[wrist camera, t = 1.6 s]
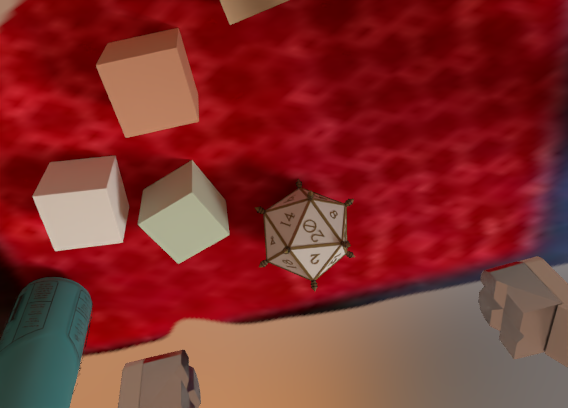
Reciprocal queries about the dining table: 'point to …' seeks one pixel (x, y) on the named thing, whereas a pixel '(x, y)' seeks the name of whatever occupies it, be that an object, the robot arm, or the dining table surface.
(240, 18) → the block oak
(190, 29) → the dining table surface
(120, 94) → the block terracotta
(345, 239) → the game die
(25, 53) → the dining table surface
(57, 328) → the beverage bottle
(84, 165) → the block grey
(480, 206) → the dining table surface
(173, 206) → the block sage
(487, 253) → the dining table surface
